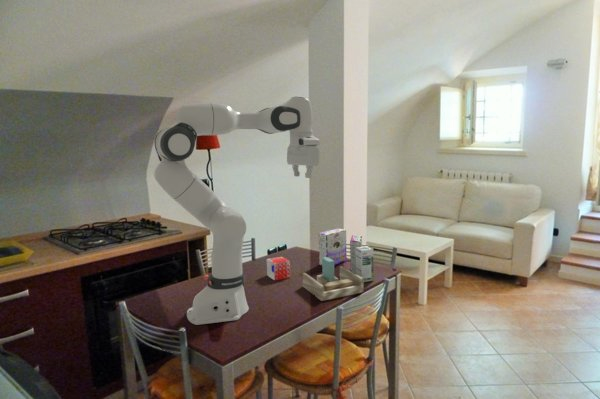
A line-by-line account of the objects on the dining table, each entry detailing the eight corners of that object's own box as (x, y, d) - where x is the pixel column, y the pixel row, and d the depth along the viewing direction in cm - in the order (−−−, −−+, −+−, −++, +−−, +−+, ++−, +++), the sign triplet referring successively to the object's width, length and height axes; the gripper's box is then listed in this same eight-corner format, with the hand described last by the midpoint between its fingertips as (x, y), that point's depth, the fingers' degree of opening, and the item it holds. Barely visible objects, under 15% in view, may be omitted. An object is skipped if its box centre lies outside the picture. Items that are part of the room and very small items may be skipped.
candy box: (338, 258, 216) (338, 227, 214) (346, 261, 212) (346, 229, 209) (318, 264, 208) (318, 232, 205) (326, 267, 203) (326, 234, 200)
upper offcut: (326, 292, 167) (326, 286, 167) (322, 289, 170) (322, 283, 170) (352, 287, 172) (352, 281, 171) (348, 284, 175) (348, 278, 175)
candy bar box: (351, 268, 201) (351, 234, 199) (362, 268, 200) (362, 235, 198) (349, 276, 191) (349, 240, 188) (361, 276, 190) (361, 241, 187)
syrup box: (361, 282, 182) (361, 250, 180) (355, 278, 188) (355, 246, 185) (373, 280, 184) (373, 248, 182) (367, 276, 189) (367, 245, 187)
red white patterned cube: (290, 277, 191) (289, 260, 190) (274, 280, 187) (274, 263, 186) (282, 272, 198) (282, 256, 197) (267, 275, 194) (266, 259, 193)
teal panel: (329, 289, 175) (328, 261, 173) (322, 284, 181) (322, 257, 179) (334, 288, 176) (334, 260, 174) (327, 283, 182) (327, 257, 180)
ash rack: (321, 300, 164) (321, 286, 163) (302, 286, 179) (302, 273, 178) (363, 292, 171) (363, 278, 170) (342, 279, 187) (342, 266, 186)
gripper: (282, 141, 168) (283, 176, 170) (306, 140, 150) (307, 179, 152) (296, 141, 171) (297, 175, 173) (322, 140, 153) (322, 178, 155)
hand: (302, 177), depth 162 cm, fingers open, 8 cm apart
